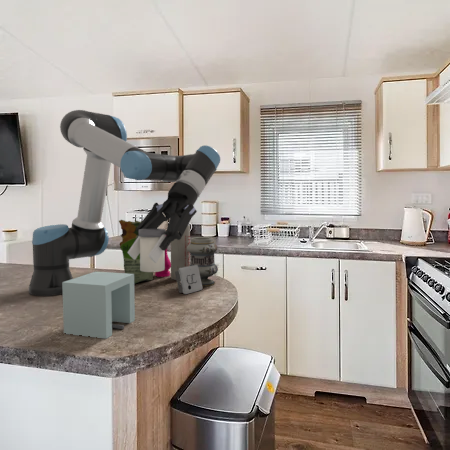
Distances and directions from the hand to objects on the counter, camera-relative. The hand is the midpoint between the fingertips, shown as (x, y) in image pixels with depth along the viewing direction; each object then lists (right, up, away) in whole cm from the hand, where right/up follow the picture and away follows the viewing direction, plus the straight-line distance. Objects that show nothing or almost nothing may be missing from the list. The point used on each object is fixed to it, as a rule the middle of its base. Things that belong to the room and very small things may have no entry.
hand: (141, 257), depth 92 cm
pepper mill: (-7, -14, +72) cm, 73 cm away
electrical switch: (+7, -16, +45) cm, 49 cm away
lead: (-14, -19, +9) cm, 25 cm away
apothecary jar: (+11, -15, +58) cm, 61 cm away
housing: (-12, -19, +8) cm, 24 cm away
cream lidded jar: (+2, -3, +3) cm, 5 cm away
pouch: (-15, -15, +60) cm, 64 cm away
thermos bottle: (+1, -14, +67) cm, 69 cm away
